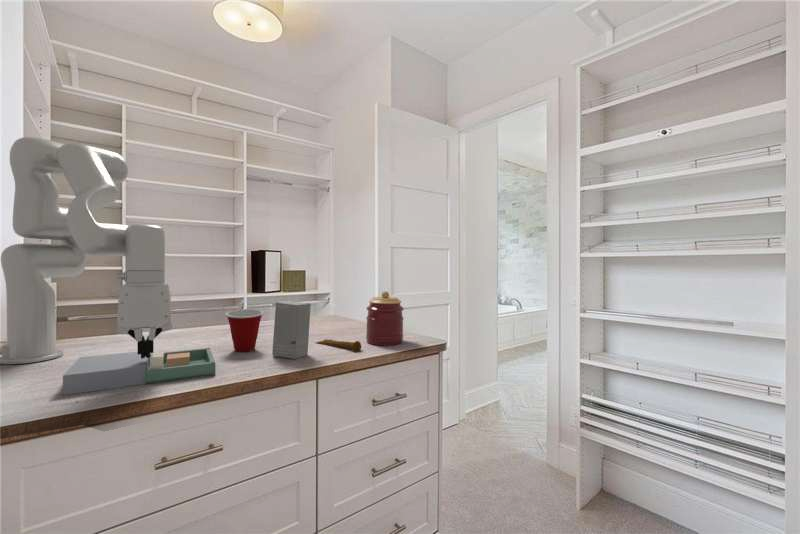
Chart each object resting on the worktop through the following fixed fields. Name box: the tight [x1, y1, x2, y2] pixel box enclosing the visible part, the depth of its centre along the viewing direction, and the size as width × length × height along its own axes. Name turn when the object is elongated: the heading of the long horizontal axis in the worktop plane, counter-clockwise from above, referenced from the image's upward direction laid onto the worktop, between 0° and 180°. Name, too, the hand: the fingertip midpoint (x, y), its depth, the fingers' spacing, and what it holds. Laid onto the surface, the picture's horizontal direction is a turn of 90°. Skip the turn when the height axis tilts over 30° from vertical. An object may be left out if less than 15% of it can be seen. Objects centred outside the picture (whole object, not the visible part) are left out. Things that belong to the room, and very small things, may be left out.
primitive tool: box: [315, 338, 362, 353], centre depth 121 cm, size 19×6×4 cm, turn 51°
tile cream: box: [150, 351, 164, 369], centre depth 87 cm, size 5×5×2 cm
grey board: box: [62, 351, 150, 396], centre depth 86 cm, size 14×16×4 cm
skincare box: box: [272, 300, 312, 360], centre depth 109 cm, size 8×7×16 cm
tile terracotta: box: [166, 352, 190, 367], centre depth 96 cm, size 5×5×2 cm
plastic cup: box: [225, 308, 264, 353], centre depth 114 cm, size 11×11×12 cm
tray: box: [145, 347, 216, 385], centre depth 93 cm, size 14×17×3 cm
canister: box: [365, 291, 405, 346], centre depth 128 cm, size 13×13×18 cm
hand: (145, 356), depth 86 cm, fingers closed
